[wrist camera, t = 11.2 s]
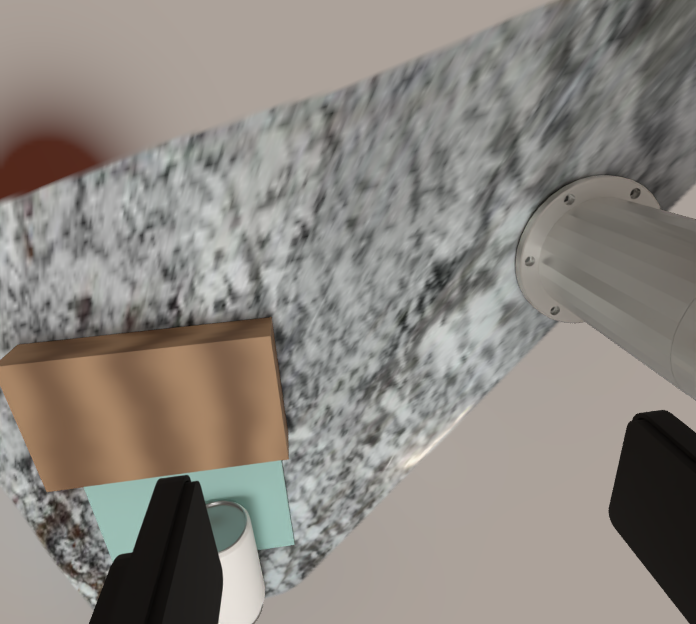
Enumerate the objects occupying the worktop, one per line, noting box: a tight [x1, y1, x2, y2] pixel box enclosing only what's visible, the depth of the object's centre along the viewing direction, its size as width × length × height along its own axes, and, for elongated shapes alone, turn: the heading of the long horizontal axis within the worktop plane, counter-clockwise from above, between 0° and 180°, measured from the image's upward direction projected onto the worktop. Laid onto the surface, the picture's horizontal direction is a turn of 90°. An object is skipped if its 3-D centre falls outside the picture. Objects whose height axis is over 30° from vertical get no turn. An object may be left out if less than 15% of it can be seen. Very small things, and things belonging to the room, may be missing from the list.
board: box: [0, 317, 289, 492], centre depth 39 cm, size 20×12×4 cm, turn 93°
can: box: [206, 500, 265, 624], centre depth 45 cm, size 6×6×12 cm
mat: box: [84, 460, 294, 561], centre depth 45 cm, size 18×14×1 cm
